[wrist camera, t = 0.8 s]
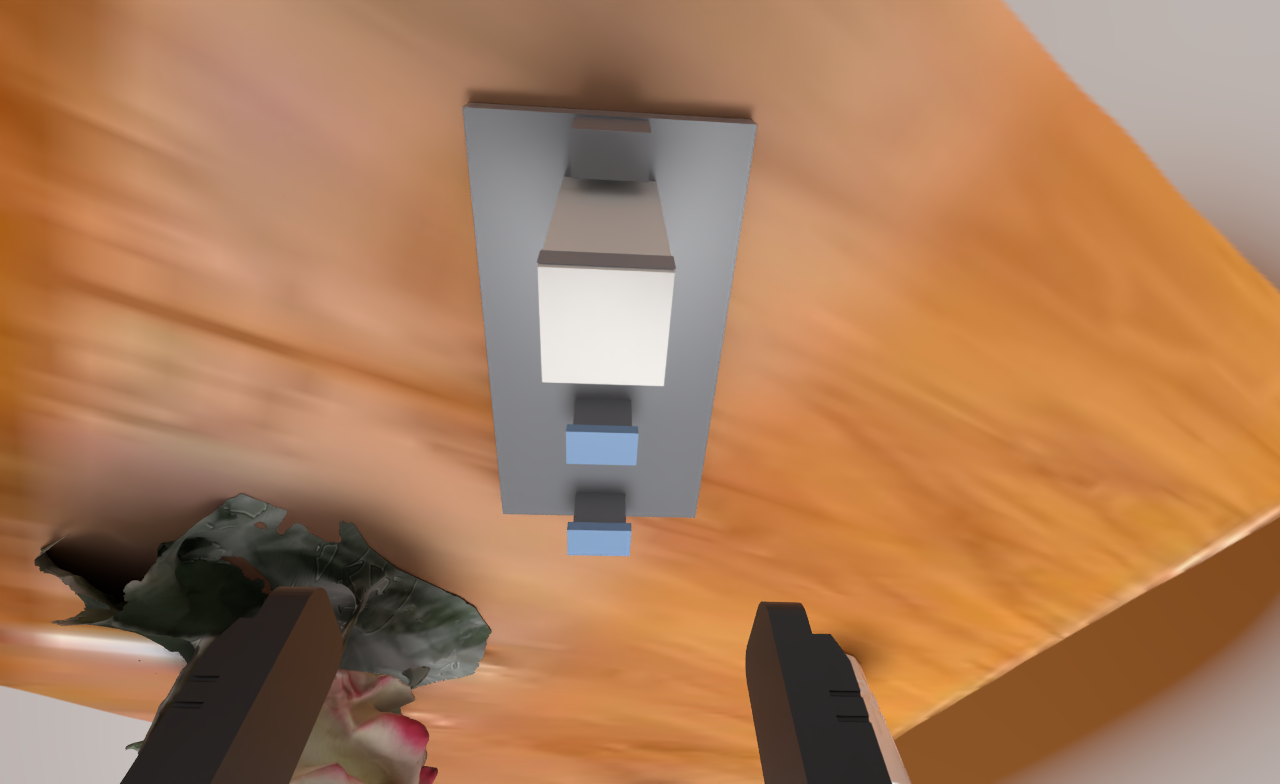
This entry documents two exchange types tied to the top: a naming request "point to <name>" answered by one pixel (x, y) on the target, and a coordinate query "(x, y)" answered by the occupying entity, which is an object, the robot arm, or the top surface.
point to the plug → (605, 285)
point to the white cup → (880, 729)
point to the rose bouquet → (364, 609)
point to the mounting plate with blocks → (507, 254)
